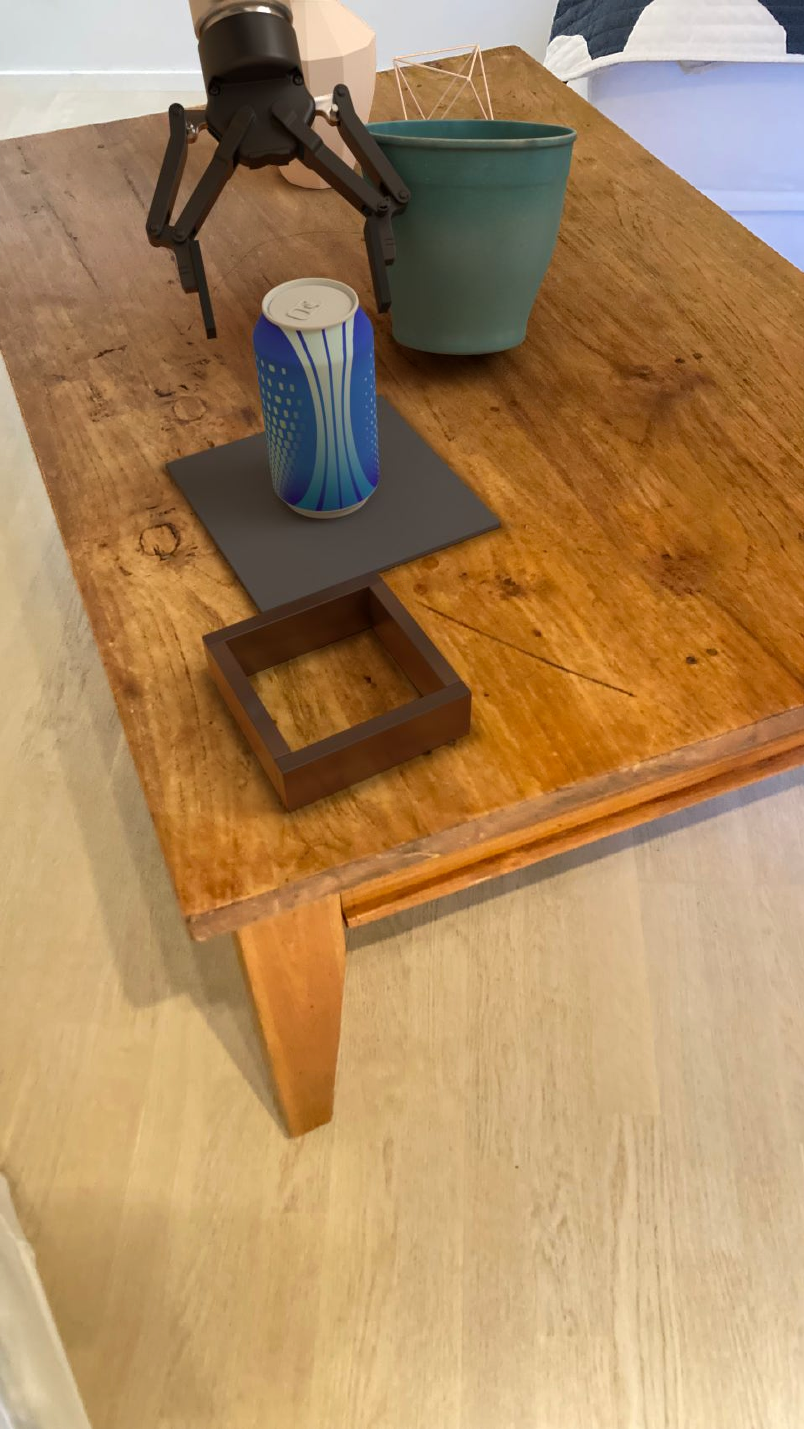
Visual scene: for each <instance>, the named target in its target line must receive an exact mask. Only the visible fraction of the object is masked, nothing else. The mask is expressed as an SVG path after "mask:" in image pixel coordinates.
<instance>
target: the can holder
mask: <svg viewBox="0 0 804 1429" xmlns="http://www.w3.org/2000/svg"><path fill="white" fill-rule="evenodd" d="M367 629H371V630H373V632H374V633H375V634H376V636H377V637H378V638H379V640H380V641H381V643H382V644H383V646H384V647H385V648H386V649H387V650H388V652H389V653H390V655H391V656H392V657H393V659H394V660H395V661H396V663H397V664H398V666H399V667H400V668H401V670H402V671H403V672H404V673H405V675H406V676H407V678H408V679H409V680H410V682H411V683H412V685H413V686H414V687H415V689H416V690H417V691H418V692H419V694H420V695H421V696H422V697H419V698H418V699H416V700H413V701H411V702H408V703H405V704H403V705H401V706H399V707H396V708H393V709H391V710H389V711H387V712H384V713H382V714H380V715H377V716H374V717H373V718H370V719H368V720H366V721H364V722H363V721H362V722H361V723H359V724H356V725H354V726H352V727H351V726H350V727H349V728H347V729H344V730H342V731H340V732H337V733H334V734H332V735H330V736H327V737H325V738H323V739H321V740H318V741H316V742H313V743H311V744H309V745H307V746H304V747H302V748H300V749H298V750H294V751H292V749H291V748H290V746H289V745H288V742H287V741H286V740H285V738H284V736H283V735H282V733H281V731H280V730H279V728H278V727H277V724H276V723H275V721H274V720H273V718H272V716H271V715H270V713H269V711H268V710H267V708H266V706H265V705H264V703H263V702H262V700H261V698H260V696H259V695H258V693H257V692H256V690H255V689H254V686H253V685H252V684H251V682H250V680H249V678H248V676H251V675H254V674H256V673H259V672H261V671H264V670H267V669H269V668H271V667H273V666H277V665H279V664H281V663H284V662H287V661H289V660H291V659H294V658H296V657H299V656H302V655H304V654H306V653H309V652H312V651H314V650H317V649H320V648H322V647H324V646H327V645H329V644H332V643H334V642H337V641H339V640H342V639H345V638H348V637H349V636H352V635H354V634H357V633H360V632H363V631H365V630H367ZM201 640H202V644H203V649H204V654H205V657H206V662H207V667H208V672H209V675H210V679H211V680H212V682H213V683H214V685H215V687H216V688H217V691H218V692H219V695H220V696H221V697H222V699H223V701H224V703H225V704H226V706H227V708H228V710H229V711H230V713H231V715H232V717H233V718H234V720H235V722H236V724H237V726H238V727H239V729H240V731H241V732H242V734H243V735H244V737H245V739H246V741H247V742H248V744H249V746H250V748H251V749H252V751H253V753H254V755H255V757H256V758H257V760H258V761H259V763H260V765H261V767H262V768H263V770H264V772H265V774H266V775H267V777H268V778H269V780H270V783H271V784H272V786H273V787H274V789H275V791H276V793H277V795H278V796H279V798H280V799H281V801H282V804H283V805H284V807H285V808H286V810H287V812H288V813H292V812H293V811H294V812H295V811H296V810H299V809H301V808H303V807H305V806H307V805H311V804H313V803H315V802H316V801H319V800H321V799H324V798H326V797H328V796H331V795H332V794H334V793H337V792H340V791H342V790H344V789H347V788H348V787H350V786H353V785H356V784H357V783H360V782H363V781H364V780H366V779H369V778H371V777H373V776H376V775H378V774H380V773H382V772H384V771H387V770H388V769H391V768H394V767H395V766H398V765H401V764H403V763H404V762H407V761H410V760H411V759H414V758H416V757H418V756H420V755H423V754H425V753H427V752H430V751H432V750H434V749H436V748H439V747H441V746H443V745H446V744H447V743H450V742H452V741H455V740H457V739H460V738H461V737H464V736H466V735H469V734H470V733H471V720H472V719H471V718H472V699H473V698H472V696H473V692H472V690H470V687H468V685H467V684H466V683H465V682H464V681H463V679H462V678H461V676H460V675H459V674H458V673H457V671H455V669H454V668H453V666H452V665H451V664H450V663H449V662H448V660H447V659H446V657H445V656H444V655H443V654H442V653H441V651H440V650H439V649H438V647H437V646H436V645H435V643H434V642H433V641H432V639H430V637H429V636H428V635H427V633H426V632H425V631H424V630H423V628H422V627H421V625H420V624H419V623H418V622H417V620H415V618H414V617H413V615H412V614H411V613H410V611H408V609H407V608H406V607H405V605H404V604H403V603H402V602H401V600H400V599H399V598H398V597H397V595H396V594H395V593H394V591H393V590H392V589H391V587H390V586H389V585H388V584H387V582H386V581H385V580H384V578H383V577H382V576H381V575H380V573H378V572H377V571H373V572H370V573H367V574H365V575H362V576H360V577H357V578H354V579H352V580H349V581H346V582H344V583H341V584H338V585H336V586H333V587H330V588H328V589H325V590H322V591H320V592H317V593H315V594H312V595H309V596H307V597H304V598H301V599H299V600H296V601H293V602H291V603H288V604H285V605H283V606H280V607H277V608H275V609H272V610H270V611H267V612H264V613H262V614H261V613H259V614H257V615H254V616H251V617H248V618H246V619H243V620H240V621H238V622H236V623H235V622H234V623H233V624H230V625H227V626H224V627H222V628H219V629H216V630H214V631H212V632H209V633H206V634H204V635H202V636H201Z"/></svg>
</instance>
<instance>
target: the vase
mask: <svg viewBox="0 0 804 1429" xmlns="http://www.w3.org/2000/svg"><path fill="white" fill-rule="evenodd" d="M290 3H291V8H292V14H293V25H292V26H293V28H294V30H295V32H296V36H297V42H298V47H299V53H300V58H301V64H302V69H303V75H304V80H305V84H306V87H307V89H308V91H309V92H310V94H311V95H312V96H313V97H316V96H320V95H324V94H328V93H332V92H333V90H334V87H335V86H336V85H337V84H344V85H346V86H347V87H348V89H349V92H350V96H351V99H352V103H353V106H354V110H355V113H356V114H357V116H358V117H359V118H360V120H361V121H362V123H363V124H368V123H369V120H370V114H371V110H372V105H373V100H374V95H375V91H376V90H375V89H376V76H377V38H376V36H377V35H376V33H375V31H374V30H373V29H372V28H371V26H369V25H368V23H367V22H365V21H364V20H363V19H362V18H361V17H359V16H358V15H357V14H355V13H354V12H353V11H352V10H350V8H348V7H346V6H345V5H344V4H343V3H341V2H340V1H339V0H290ZM311 129H312V130H313V131H315V132H316V133H317V134H318V135H319V136H320V137H321V139H322V140H323V142H324V144H325V145H326V146H327V147H328V148H329V149H331V150H332V151H333V152H334V153H335V154H336V155H337V156H338V157H339V158H340V159H342V160H343V161H344V162H345V163H346V164H347V165H348V166H349V167H350V168H351V169H353V170H354V169H355V165H356V162H357V160H356V158H355V157H354V156H353V154H352V153H351V151H350V150H349V148H348V147H347V146H346V144H345V143H344V141H343V140H342V138H341V136H340V134H339V132H338V130H337V127H336V126H334V127H332V126H330V125H329V124H328V123H327V122H326V120H325V119H324V118H323V117H322V116H315V120H314V122H313V124H312V126H311ZM278 169H279V171H280V174H281V175H282V177H284V179H285V180H287V182H288V183H289V184H292V185H295V186H299V187H302V188H306V189H316V190H323V189H325V190H326V189H330V188H332V187H331V186H330V185H329V184H328V183H327V182H325V181H324V180H323V179H322V178H321V177H320V176H319V175H318V174H317V173H315V172H314V171H313V170H310V169H308V168H306V167H305V166H304V165H303V164H302V163H301V162H300V161H299V160H298V159H296V158H295V159H294V160H292V161H291V162H289V165H286V166H278ZM332 189H333V188H332Z"/></svg>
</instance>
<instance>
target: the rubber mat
mask: <svg viewBox="0 0 804 1429" xmlns="http://www.w3.org/2000/svg"><path fill="white" fill-rule="evenodd" d="M376 409H377V433H378V456H379V482H378V485H377V487H376V489H375V490H374V492H373V493H372V494H371V495H370V496H369V497H368V499H367V501H366V502H365V503H364V504H363V505H362V506H361V507H360V508H359V509H357V510H356V511H354V512H352V513H350V514H347V515H345V516H341V517H337V518H329V519H319V518H312V517H307V516H304V515H302V514H299V513H297V512H296V511H294V510H293V509H292V508H290V507H289V506H288V504H287V503H286V502H284V501H283V500H282V499H281V498H280V497H279V496H278V495H277V494H276V492H275V490H274V487H273V484H272V477H271V470H270V462H269V455H268V448H267V441H266V433H265V430H264V431H261V432H258V433H255V434H251V435H249V436H245V437H243V438H240V439H237V440H233V441H230V442H227V443H224V444H221V445H218V446H215V447H211V448H208V449H206V450H202V451H199V452H196V453H193V454H189V455H187V456H184V457H181V458H178V459H177V458H176V459H174V460H171V461H168V462H165V463H164V466H165V469H166V471H167V472H168V474H169V475H170V477H171V478H172V480H173V481H174V483H175V484H176V486H177V488H178V489H179V490H180V493H181V494H182V495H183V497H184V498H185V500H186V501H187V503H188V504H189V506H190V507H191V509H192V510H193V512H194V514H195V516H196V517H197V518H198V519H199V521H200V522H201V524H202V526H203V528H204V529H205V530H206V532H207V534H208V535H209V536H210V538H211V539H212V541H213V543H214V544H215V546H216V548H217V549H218V550H219V552H220V553H221V555H222V556H223V558H224V559H225V562H227V564H228V565H229V567H230V569H231V570H232V572H233V574H234V575H235V576H236V578H237V580H238V581H239V582H240V584H241V585H242V587H243V589H244V590H245V592H246V593H247V595H248V596H249V599H251V601H252V602H253V604H254V606H255V607H256V608H257V610H258V611H259V614H262V613H264V612H267V611H270V610H272V609H275V608H277V607H280V606H283V605H285V604H288V603H291V602H293V601H296V600H299V599H301V598H304V597H307V596H309V595H312V594H315V593H317V592H320V591H322V590H325V589H328V588H330V587H333V586H336V585H338V584H341V583H344V582H346V581H349V580H352V579H354V578H357V577H360V576H362V575H365V574H367V573H370V572H373V571H377V572H378V574H380V573H382V572H383V573H384V572H385V571H389V570H391V569H394V568H396V567H399V566H401V565H404V564H406V563H409V562H412V561H415V560H417V559H419V558H422V557H425V556H428V555H430V554H434V553H436V552H438V551H441V550H443V549H446V548H448V547H452V546H454V545H457V544H459V543H462V542H464V541H467V540H470V539H472V538H475V537H478V536H481V535H483V534H486V533H488V532H490V531H493V530H496V529H498V528H501V526H502V522H501V520H500V519H499V518H498V517H497V516H496V515H495V514H494V513H493V512H492V511H491V510H490V508H488V507H487V506H486V504H484V502H482V500H481V499H480V498H479V497H478V496H477V495H476V494H475V493H474V492H473V491H472V490H471V488H469V486H468V485H467V484H465V482H464V481H463V480H462V479H461V478H460V477H459V476H458V475H457V474H456V473H455V471H453V469H451V467H450V466H449V465H448V464H447V463H446V462H445V461H444V459H442V458H441V457H440V456H439V454H438V453H437V452H435V450H434V449H433V448H432V447H431V446H430V445H429V444H428V443H427V442H426V441H425V440H424V439H423V438H422V436H421V435H420V434H419V433H417V431H416V430H415V429H414V428H413V427H412V426H411V425H410V424H409V423H408V422H407V421H406V419H405V418H403V416H402V415H401V414H400V413H399V412H398V411H397V410H396V409H395V408H394V407H393V406H392V404H390V403H389V402H388V401H387V400H386V398H385V397H384V396H382V394H381V393H379V394H376Z"/></svg>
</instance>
